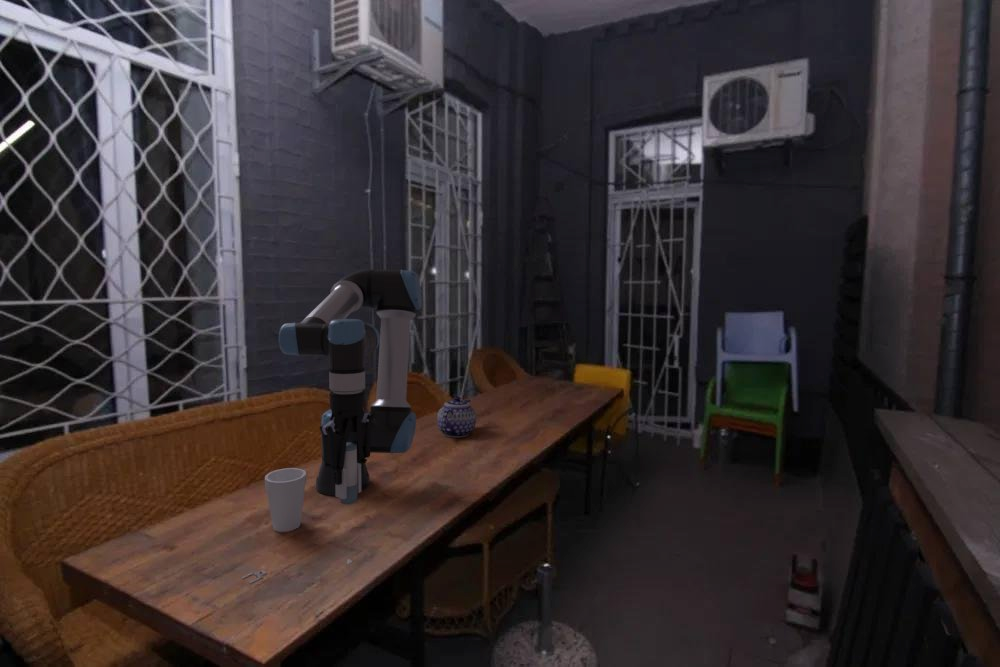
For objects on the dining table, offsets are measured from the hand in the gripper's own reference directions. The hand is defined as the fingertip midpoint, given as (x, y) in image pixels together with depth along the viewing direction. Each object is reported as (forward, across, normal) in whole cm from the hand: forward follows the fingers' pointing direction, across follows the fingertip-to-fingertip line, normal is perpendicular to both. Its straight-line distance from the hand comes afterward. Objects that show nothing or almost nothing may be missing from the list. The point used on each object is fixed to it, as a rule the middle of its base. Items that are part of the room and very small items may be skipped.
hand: (348, 493), depth 118 cm
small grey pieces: (+14, +14, -5) cm, 21 cm away
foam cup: (+14, 0, -22) cm, 26 cm away
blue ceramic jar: (+13, -85, -33) cm, 92 cm away
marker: (+2, 0, 0) cm, 2 cm away
